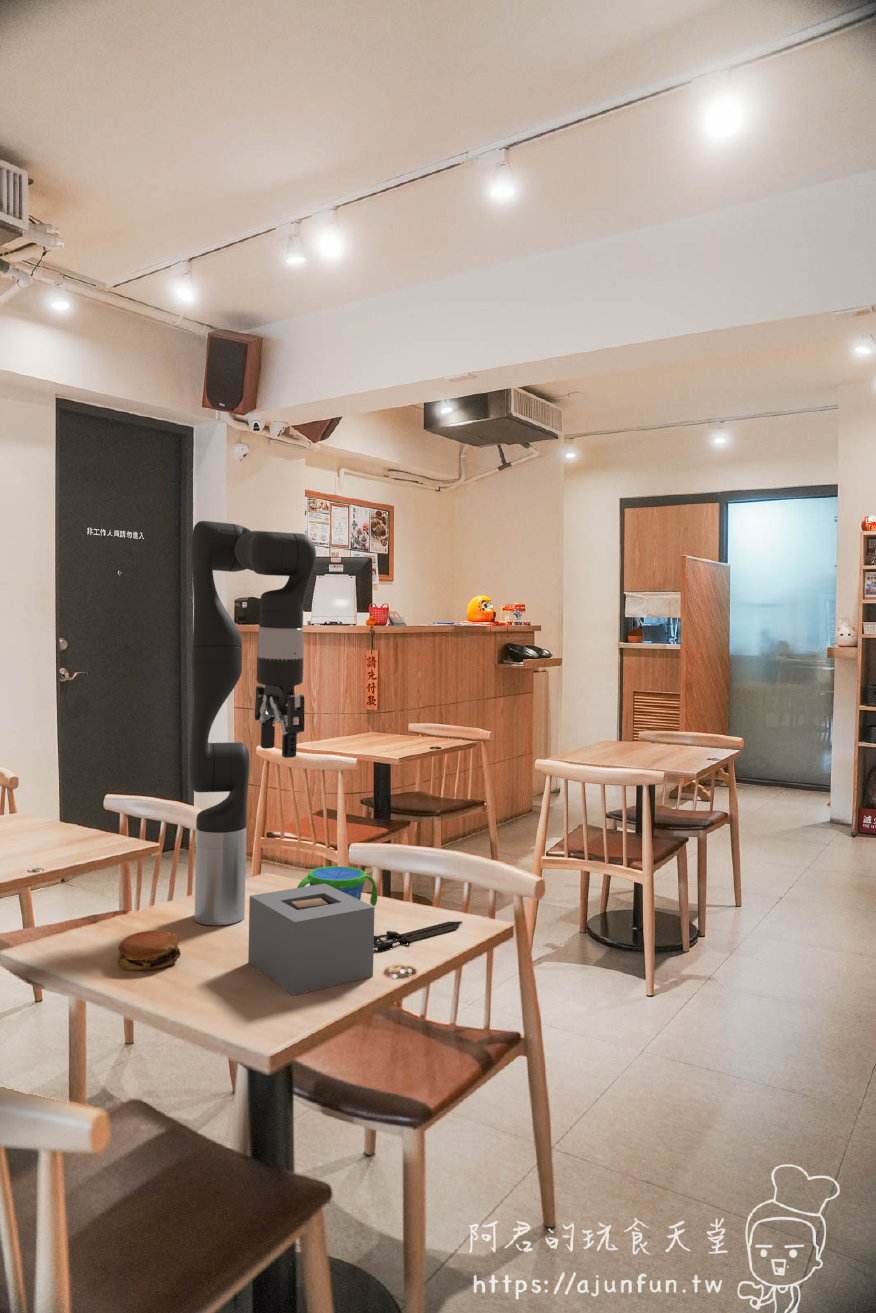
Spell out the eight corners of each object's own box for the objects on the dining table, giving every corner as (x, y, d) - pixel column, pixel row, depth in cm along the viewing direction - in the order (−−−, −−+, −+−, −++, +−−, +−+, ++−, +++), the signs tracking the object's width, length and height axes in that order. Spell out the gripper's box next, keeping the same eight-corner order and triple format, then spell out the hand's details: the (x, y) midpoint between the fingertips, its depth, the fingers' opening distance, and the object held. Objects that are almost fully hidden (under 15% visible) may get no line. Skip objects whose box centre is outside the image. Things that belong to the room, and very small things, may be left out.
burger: (106, 963, 143) (107, 934, 143) (157, 948, 150) (157, 921, 150) (140, 979, 137) (140, 949, 137) (191, 963, 144) (192, 935, 144)
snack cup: (369, 915, 171) (370, 863, 171) (384, 932, 161) (385, 877, 161) (288, 921, 166) (290, 868, 166) (299, 940, 156) (300, 882, 156)
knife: (457, 923, 169) (457, 916, 169) (479, 933, 164) (479, 925, 163) (343, 948, 154) (343, 939, 154) (362, 959, 149) (362, 950, 149)
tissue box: (248, 962, 145) (249, 895, 144) (323, 946, 153) (325, 883, 153) (293, 995, 132) (294, 921, 131) (372, 976, 140) (374, 907, 140)
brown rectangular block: (288, 963, 142) (289, 901, 141) (318, 958, 144) (320, 897, 144) (295, 971, 138) (297, 907, 138) (327, 966, 141) (328, 903, 141)
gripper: (320, 658, 141) (317, 758, 142) (283, 650, 153) (280, 743, 154) (277, 659, 137) (274, 762, 138) (241, 651, 148) (239, 746, 150)
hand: (277, 752), depth 146 cm, fingers open, 8 cm apart
